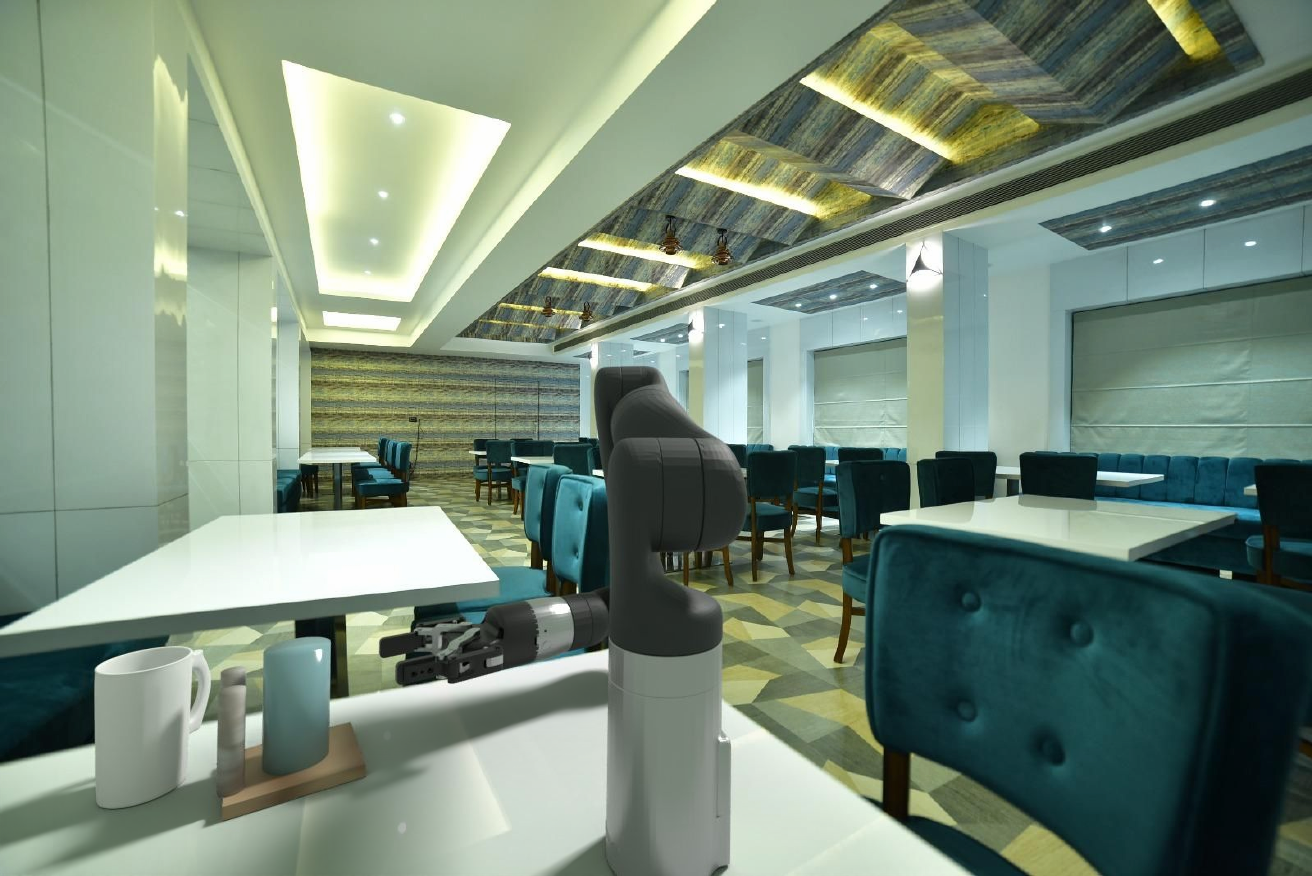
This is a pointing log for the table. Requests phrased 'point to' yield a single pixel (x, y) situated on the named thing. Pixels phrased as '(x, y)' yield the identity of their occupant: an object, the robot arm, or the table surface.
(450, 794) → the table surface
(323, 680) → the pale blue cylinder
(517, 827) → the table surface
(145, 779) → the mug
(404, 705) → the table surface
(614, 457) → the robot arm
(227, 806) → the board
